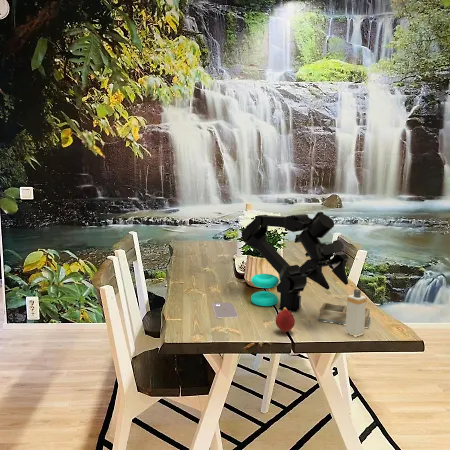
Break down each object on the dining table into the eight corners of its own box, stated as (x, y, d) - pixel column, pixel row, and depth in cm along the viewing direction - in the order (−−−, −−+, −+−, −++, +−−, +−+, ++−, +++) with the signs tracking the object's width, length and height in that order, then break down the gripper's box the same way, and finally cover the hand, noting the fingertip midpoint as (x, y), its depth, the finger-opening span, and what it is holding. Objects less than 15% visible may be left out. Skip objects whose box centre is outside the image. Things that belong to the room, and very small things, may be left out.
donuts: (246, 277, 164) (259, 271, 173) (245, 304, 166) (258, 296, 174) (271, 282, 159) (283, 275, 168) (270, 309, 161) (282, 301, 169)
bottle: (344, 333, 141) (347, 289, 139) (353, 330, 143) (356, 287, 141) (355, 337, 138) (359, 293, 135) (363, 334, 140) (367, 290, 138)
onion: (292, 328, 143) (293, 304, 142) (295, 336, 138) (296, 311, 136) (273, 328, 143) (274, 304, 142) (276, 336, 138) (277, 310, 136)
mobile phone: (216, 317, 151) (211, 302, 165) (216, 320, 151) (211, 304, 165) (239, 316, 152) (232, 301, 166) (239, 319, 152) (232, 304, 166)
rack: (317, 321, 151) (318, 309, 150) (322, 312, 159) (323, 301, 158) (367, 328, 145) (368, 316, 144) (370, 319, 153) (371, 307, 152)
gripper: (308, 234, 140) (334, 277, 133) (346, 229, 151) (372, 268, 144) (288, 254, 147) (312, 296, 140) (326, 248, 158) (350, 286, 152)
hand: (338, 286), depth 144 cm, fingers open, 9 cm apart
